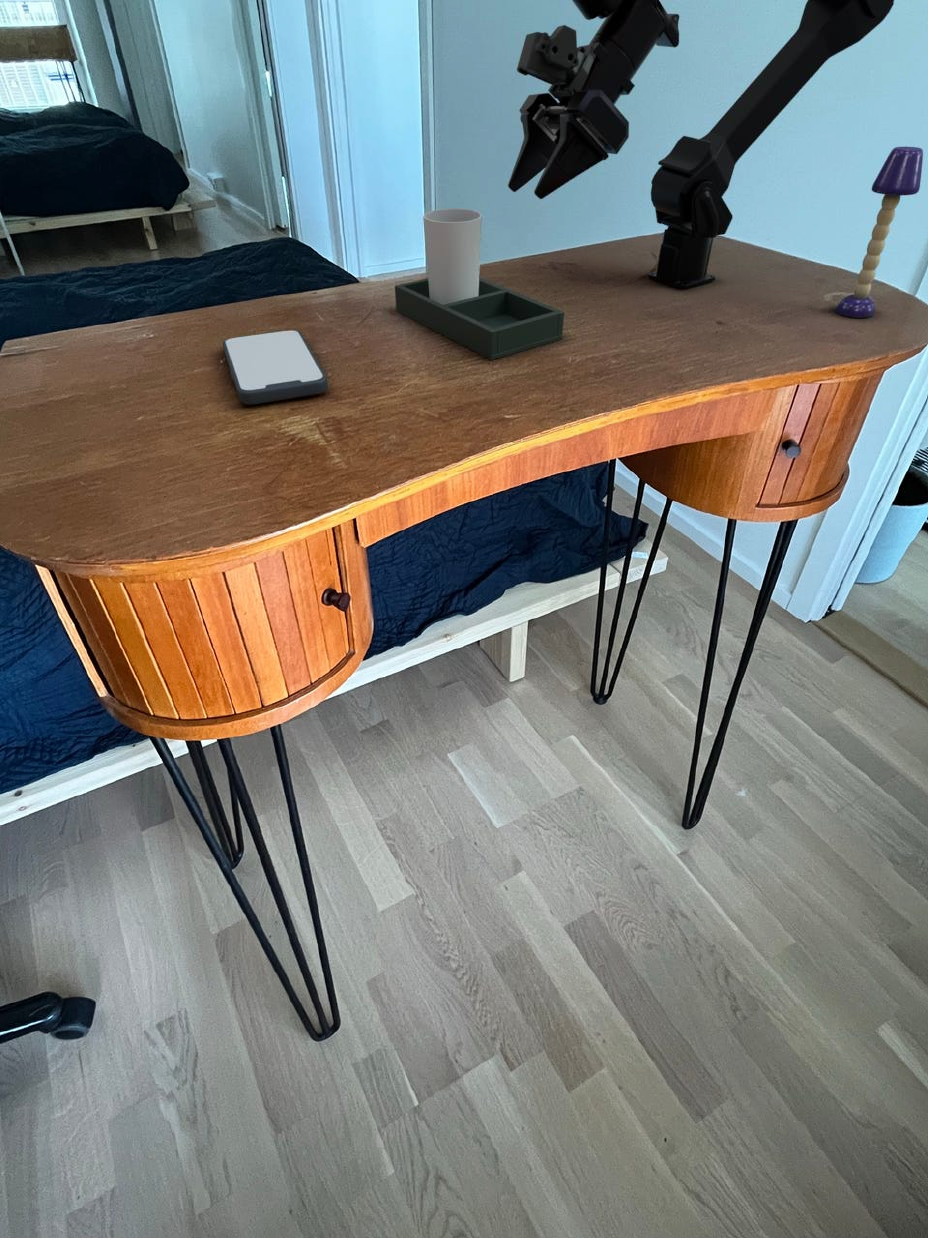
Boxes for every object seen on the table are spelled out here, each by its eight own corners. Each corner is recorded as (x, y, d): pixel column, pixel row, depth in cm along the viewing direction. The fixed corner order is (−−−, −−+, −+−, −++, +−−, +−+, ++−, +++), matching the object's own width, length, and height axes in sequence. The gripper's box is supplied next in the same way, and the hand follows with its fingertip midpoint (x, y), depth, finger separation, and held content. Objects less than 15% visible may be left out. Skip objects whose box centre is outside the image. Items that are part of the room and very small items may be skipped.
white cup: (488, 300, 88) (489, 209, 81) (472, 319, 83) (472, 224, 77) (437, 296, 89) (434, 206, 83) (419, 314, 85) (414, 220, 78)
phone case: (223, 353, 79) (241, 410, 67) (219, 338, 78) (237, 393, 66) (302, 341, 81) (332, 395, 70) (299, 327, 80) (330, 379, 69)
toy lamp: (824, 309, 87) (875, 146, 75) (849, 302, 88) (903, 142, 77) (858, 320, 83) (917, 153, 72) (883, 313, 85) (944, 148, 74)
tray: (462, 294, 92) (462, 269, 90) (562, 339, 80) (564, 311, 78) (396, 310, 88) (394, 285, 86) (491, 360, 76) (491, 331, 74)
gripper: (531, 4, 79) (448, 138, 84) (600, -22, 64) (495, 143, 69) (597, 81, 85) (517, 203, 90) (674, 74, 70) (573, 220, 75)
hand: (523, 192), depth 81 cm, fingers open, 9 cm apart
